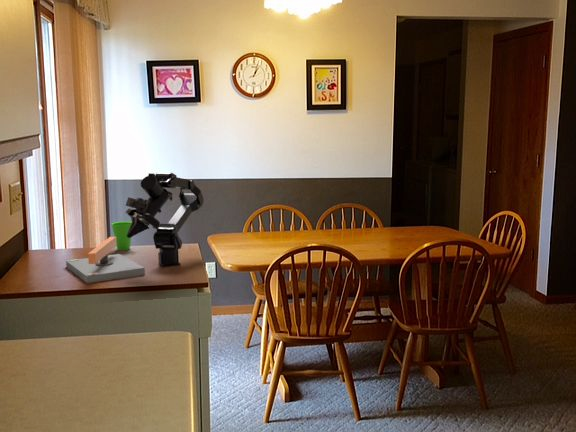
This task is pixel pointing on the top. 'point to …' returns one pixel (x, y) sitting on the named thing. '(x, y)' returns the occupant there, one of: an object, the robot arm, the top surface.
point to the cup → (122, 234)
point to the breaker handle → (102, 251)
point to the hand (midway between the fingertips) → (127, 237)
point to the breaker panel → (105, 268)
